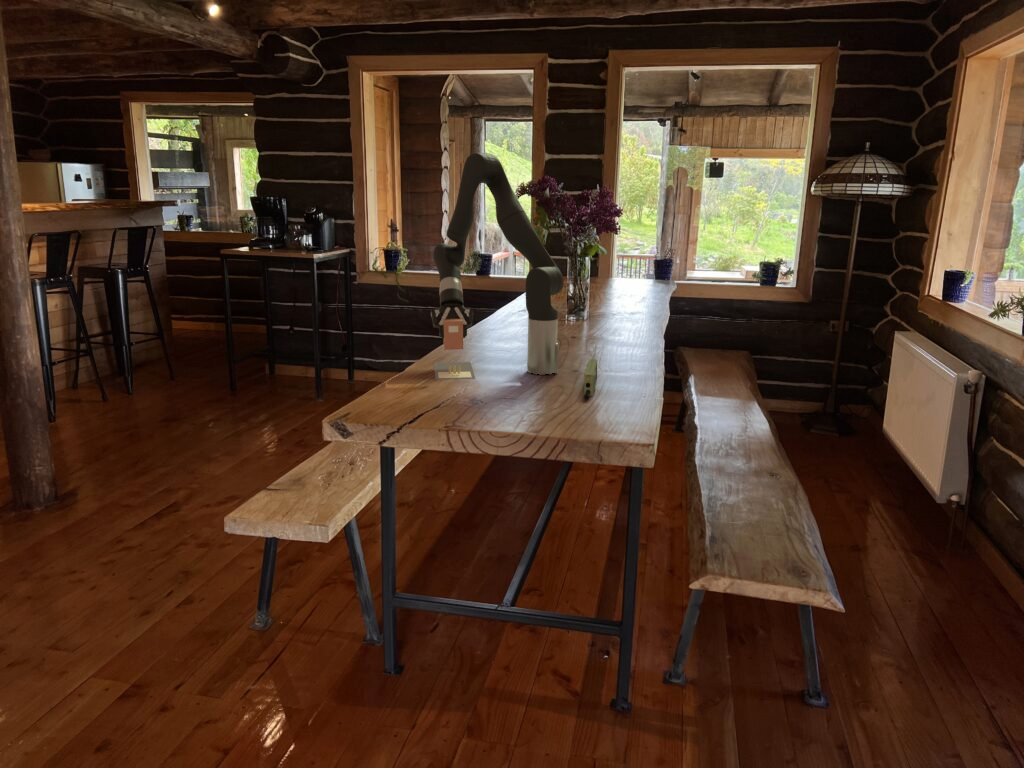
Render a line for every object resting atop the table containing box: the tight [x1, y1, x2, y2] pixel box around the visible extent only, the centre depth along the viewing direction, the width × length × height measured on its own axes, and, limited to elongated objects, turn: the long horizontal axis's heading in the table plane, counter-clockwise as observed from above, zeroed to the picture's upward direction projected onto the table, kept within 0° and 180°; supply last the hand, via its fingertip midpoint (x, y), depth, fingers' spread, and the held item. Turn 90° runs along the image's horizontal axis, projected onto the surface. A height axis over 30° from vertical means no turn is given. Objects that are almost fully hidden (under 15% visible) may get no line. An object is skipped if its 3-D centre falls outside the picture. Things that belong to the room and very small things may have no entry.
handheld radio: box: [583, 358, 598, 400], centre depth 212 cm, size 7×3×25 cm
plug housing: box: [443, 319, 464, 350], centre depth 230 cm, size 6×5×9 cm
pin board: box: [433, 361, 476, 381], centre depth 228 cm, size 12×22×4 cm, turn 7°
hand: (453, 336), depth 229 cm, fingers closed on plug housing, 6 cm apart
